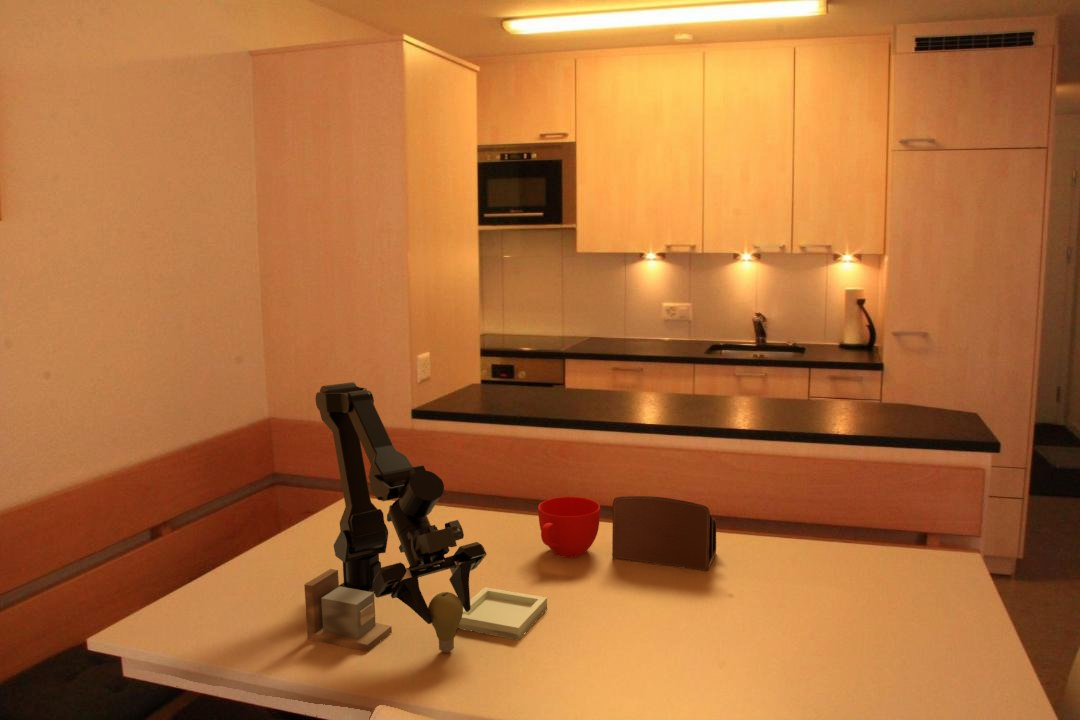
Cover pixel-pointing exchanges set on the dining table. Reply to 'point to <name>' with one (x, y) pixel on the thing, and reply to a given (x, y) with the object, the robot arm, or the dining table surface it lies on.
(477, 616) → the tray
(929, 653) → the dining table surface
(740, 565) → the dining table surface
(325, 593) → the bookend
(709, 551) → the letter holder
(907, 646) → the dining table surface
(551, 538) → the ceramic cup
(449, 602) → the light bulb
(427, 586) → the dining table surface
